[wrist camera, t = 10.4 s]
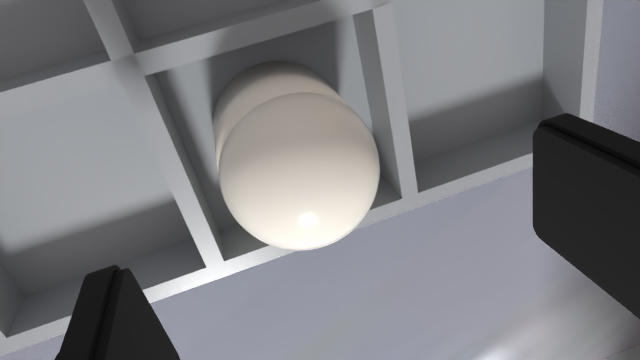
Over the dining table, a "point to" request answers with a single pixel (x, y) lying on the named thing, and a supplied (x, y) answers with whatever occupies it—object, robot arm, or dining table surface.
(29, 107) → the egg tray
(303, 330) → the dining table surface
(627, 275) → the robot arm
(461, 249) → the dining table surface
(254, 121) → the cream egg
